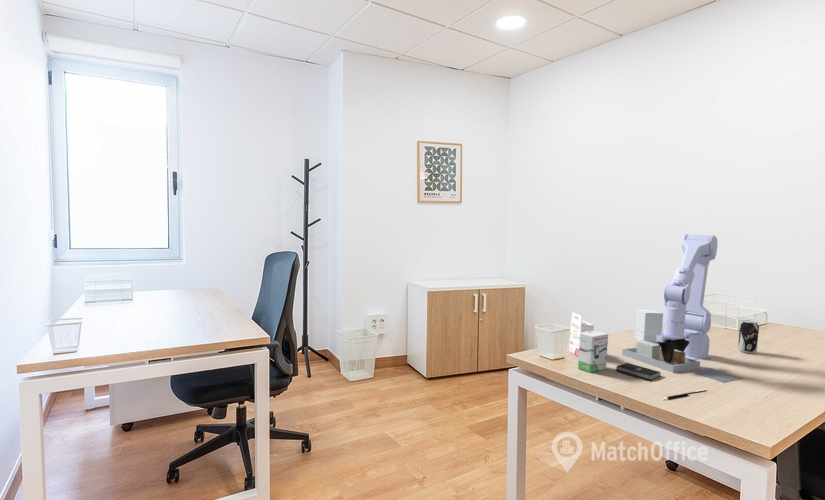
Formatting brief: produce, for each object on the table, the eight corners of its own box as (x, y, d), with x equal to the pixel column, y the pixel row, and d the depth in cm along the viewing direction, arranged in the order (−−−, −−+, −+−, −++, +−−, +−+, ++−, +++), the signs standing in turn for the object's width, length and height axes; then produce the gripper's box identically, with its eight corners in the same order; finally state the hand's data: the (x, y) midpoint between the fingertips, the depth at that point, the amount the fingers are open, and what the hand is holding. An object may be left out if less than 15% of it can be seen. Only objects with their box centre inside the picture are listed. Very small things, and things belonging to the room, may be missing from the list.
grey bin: (647, 352, 163) (648, 345, 163) (699, 369, 146) (700, 361, 146) (622, 355, 158) (622, 349, 158) (672, 373, 140) (673, 366, 140)
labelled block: (667, 361, 151) (668, 346, 151) (684, 367, 146) (685, 352, 145) (659, 363, 150) (660, 348, 149) (676, 368, 144) (677, 353, 144)
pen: (710, 392, 126) (710, 389, 126) (663, 401, 119) (664, 397, 118) (707, 391, 127) (707, 387, 127) (660, 400, 119) (661, 396, 119)
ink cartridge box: (592, 358, 154) (595, 316, 153) (579, 358, 154) (581, 316, 153) (581, 350, 163) (583, 311, 162) (568, 350, 162) (570, 311, 161)
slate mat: (710, 369, 146) (710, 367, 146) (743, 379, 137) (743, 378, 137) (690, 372, 142) (690, 371, 142) (723, 383, 133) (723, 382, 133)
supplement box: (661, 344, 175) (664, 313, 174) (642, 344, 175) (645, 312, 174) (651, 339, 182) (654, 309, 181) (633, 339, 182) (635, 308, 181)
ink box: (590, 373, 139) (592, 336, 138) (577, 368, 143) (579, 332, 142) (606, 368, 143) (609, 333, 142) (593, 364, 148) (595, 329, 147)
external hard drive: (650, 383, 133) (650, 376, 132) (614, 372, 141) (615, 366, 141) (661, 378, 137) (661, 372, 137) (625, 368, 145) (626, 362, 145)
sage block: (644, 354, 159) (645, 340, 159) (659, 359, 154) (660, 345, 154) (636, 355, 158) (637, 341, 157) (651, 360, 152) (652, 346, 152)
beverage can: (740, 353, 166) (743, 321, 165) (735, 349, 171) (738, 318, 170) (759, 355, 164) (761, 323, 163) (753, 351, 169) (756, 320, 168)
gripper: (677, 317, 153) (675, 355, 154) (649, 319, 147) (646, 359, 148) (698, 321, 147) (695, 361, 148) (668, 324, 141) (665, 366, 142)
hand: (672, 361), depth 148 cm, fingers closed on labelled block, 4 cm apart
